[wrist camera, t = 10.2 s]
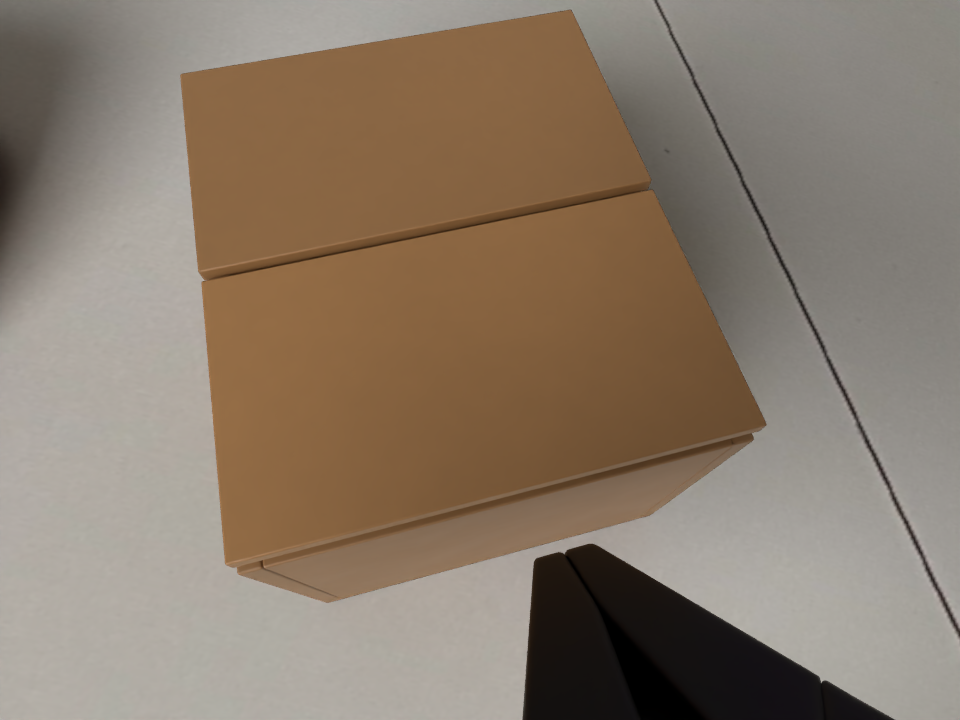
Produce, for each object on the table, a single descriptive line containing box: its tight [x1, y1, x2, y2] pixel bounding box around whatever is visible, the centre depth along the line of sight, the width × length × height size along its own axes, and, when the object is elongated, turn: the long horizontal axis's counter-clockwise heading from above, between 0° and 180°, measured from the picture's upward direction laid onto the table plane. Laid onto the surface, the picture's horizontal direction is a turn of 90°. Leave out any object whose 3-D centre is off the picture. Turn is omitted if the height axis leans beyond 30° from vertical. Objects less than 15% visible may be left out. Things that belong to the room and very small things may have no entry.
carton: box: [180, 10, 754, 603], centre depth 19 cm, size 13×11×9 cm
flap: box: [202, 190, 766, 568], centre depth 14 cm, size 6×11×1 cm, turn 105°
